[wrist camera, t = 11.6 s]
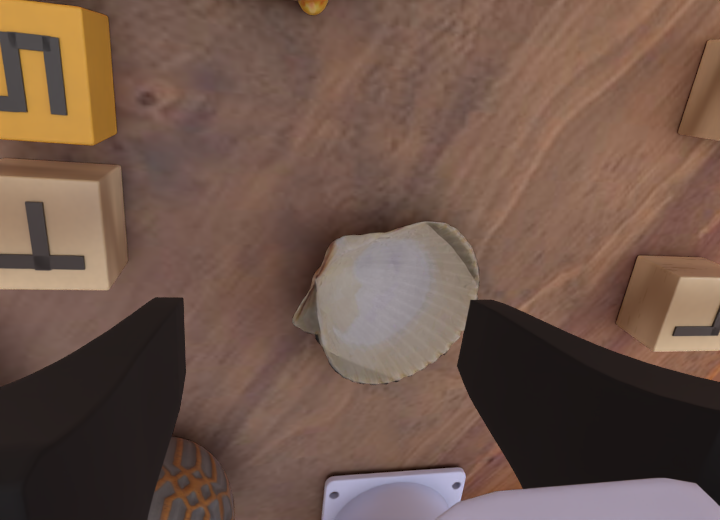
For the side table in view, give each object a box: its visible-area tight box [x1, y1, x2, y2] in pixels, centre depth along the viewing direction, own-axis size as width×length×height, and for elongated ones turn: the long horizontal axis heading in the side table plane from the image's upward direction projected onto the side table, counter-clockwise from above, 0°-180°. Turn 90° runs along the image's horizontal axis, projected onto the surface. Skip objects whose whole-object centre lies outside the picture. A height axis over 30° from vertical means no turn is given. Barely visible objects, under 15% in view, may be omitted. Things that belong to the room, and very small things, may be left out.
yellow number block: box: [0, 0, 117, 146], centre depth 16 cm, size 4×4×3 cm
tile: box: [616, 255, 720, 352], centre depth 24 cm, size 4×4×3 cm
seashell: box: [292, 221, 479, 385], centre depth 21 cm, size 8×3×8 cm
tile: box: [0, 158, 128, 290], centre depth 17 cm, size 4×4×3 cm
